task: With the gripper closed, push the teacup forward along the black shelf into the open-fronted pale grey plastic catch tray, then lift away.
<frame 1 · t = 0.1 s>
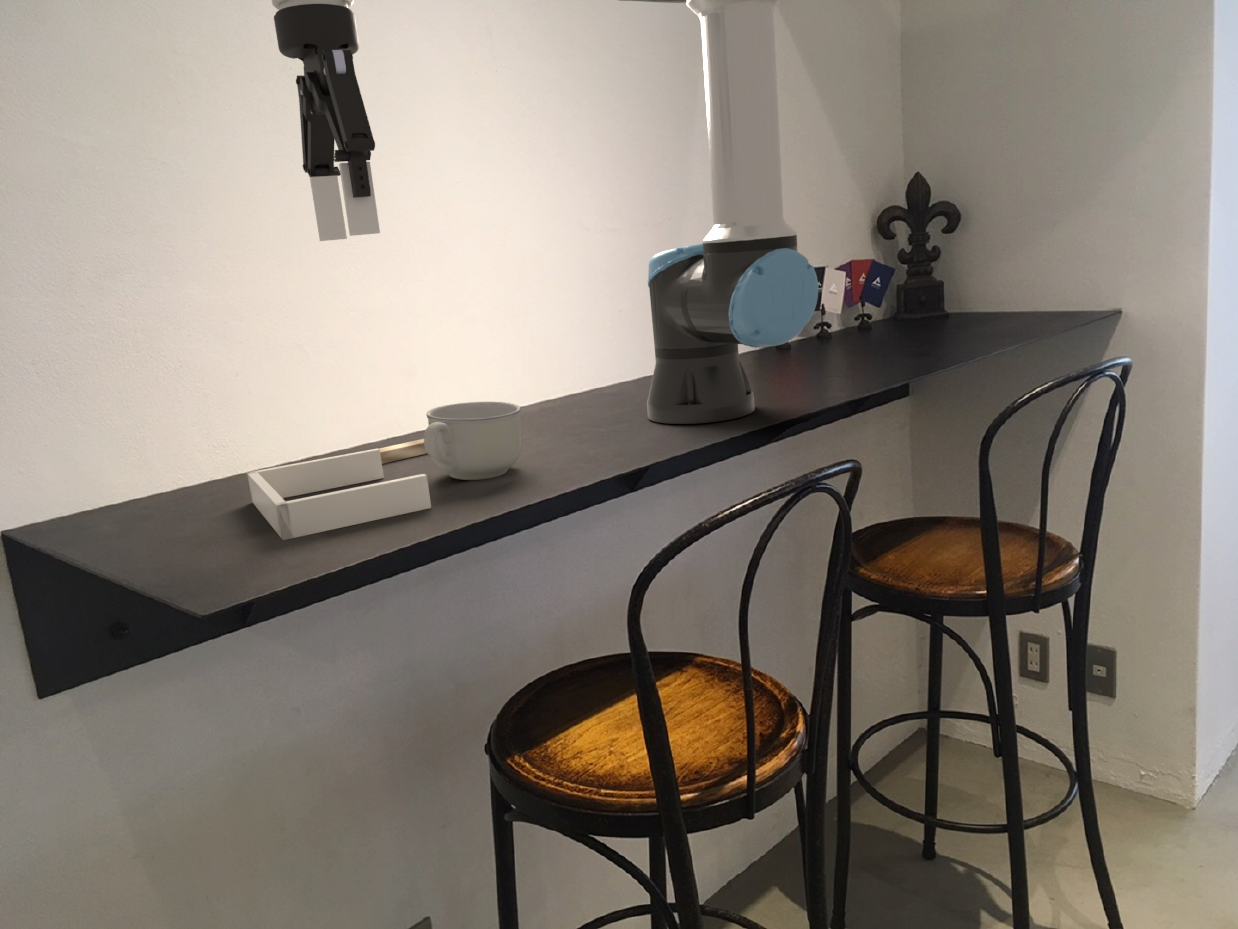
hand: (348, 237, 98), 28 cm above the table, fingers open, 13 cm apart
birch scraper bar: (379, 462, 125), on the table
teacup: (471, 479, 113), on the table
catch tray: (337, 504, 106), on the table
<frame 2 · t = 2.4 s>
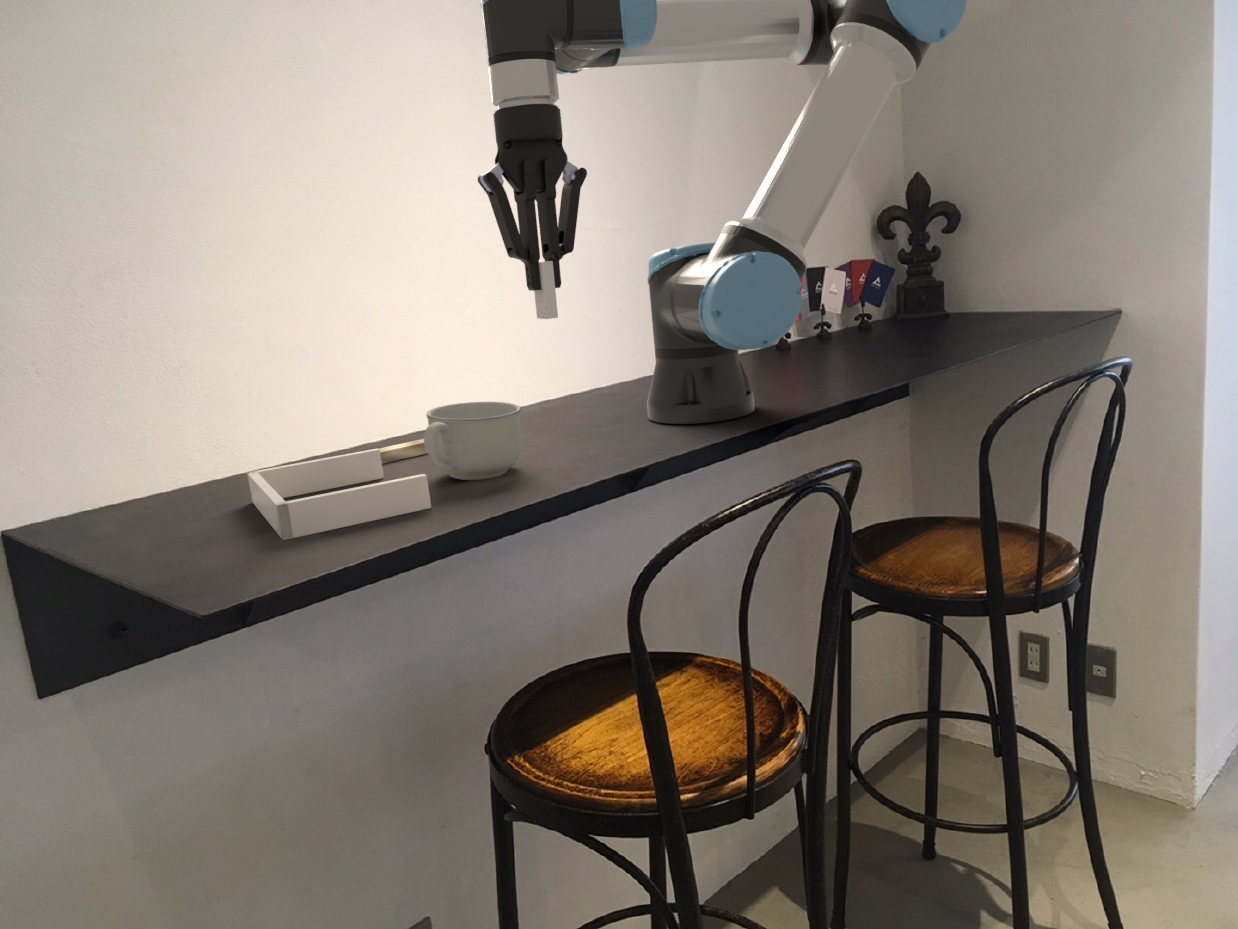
hand: (547, 317, 114), 17 cm above the table, fingers closed
nothing on the table moved.
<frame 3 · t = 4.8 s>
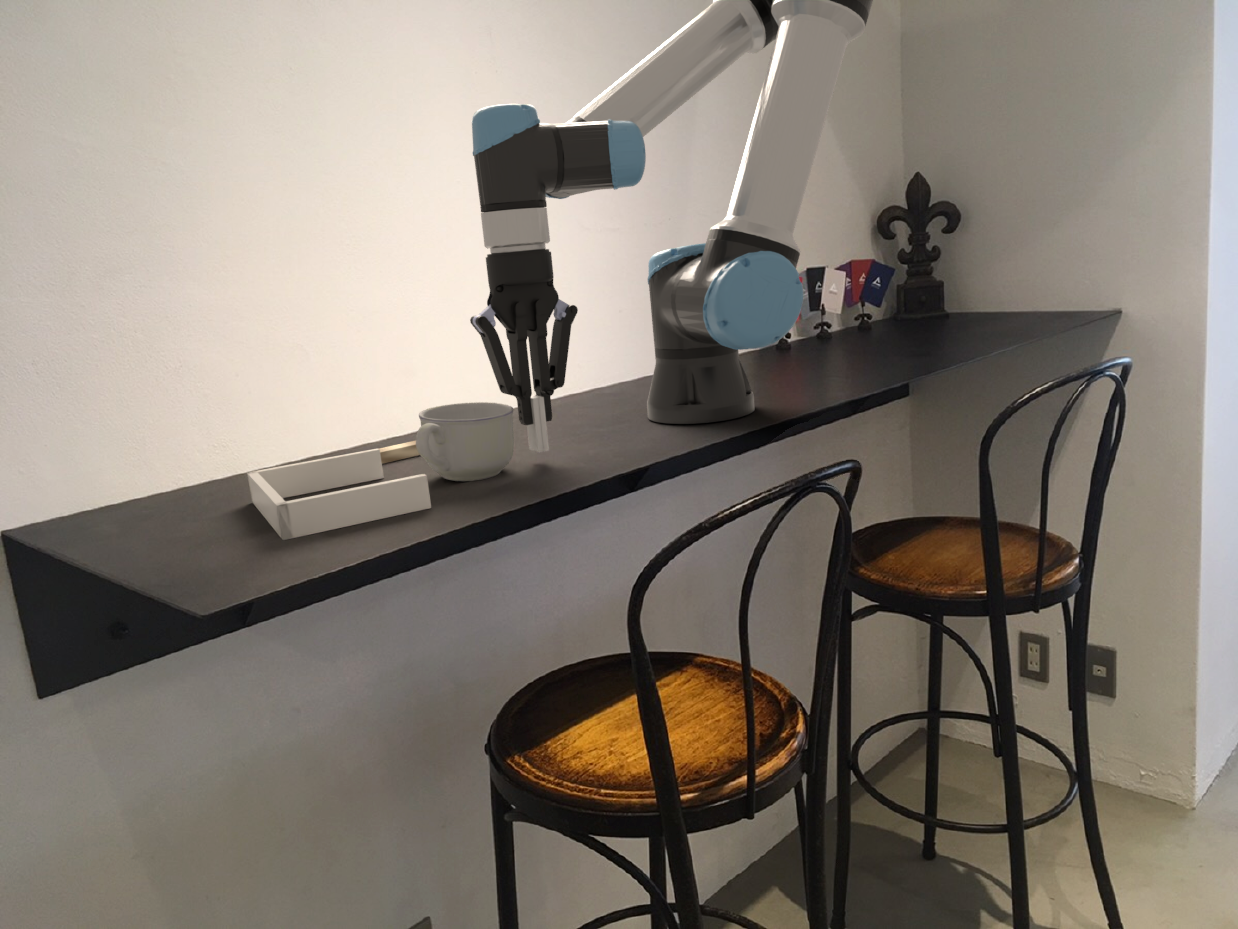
hand: (539, 449, 116), 2 cm above the table, fingers closed
teacup: (464, 480, 112), on the table, touching gripper
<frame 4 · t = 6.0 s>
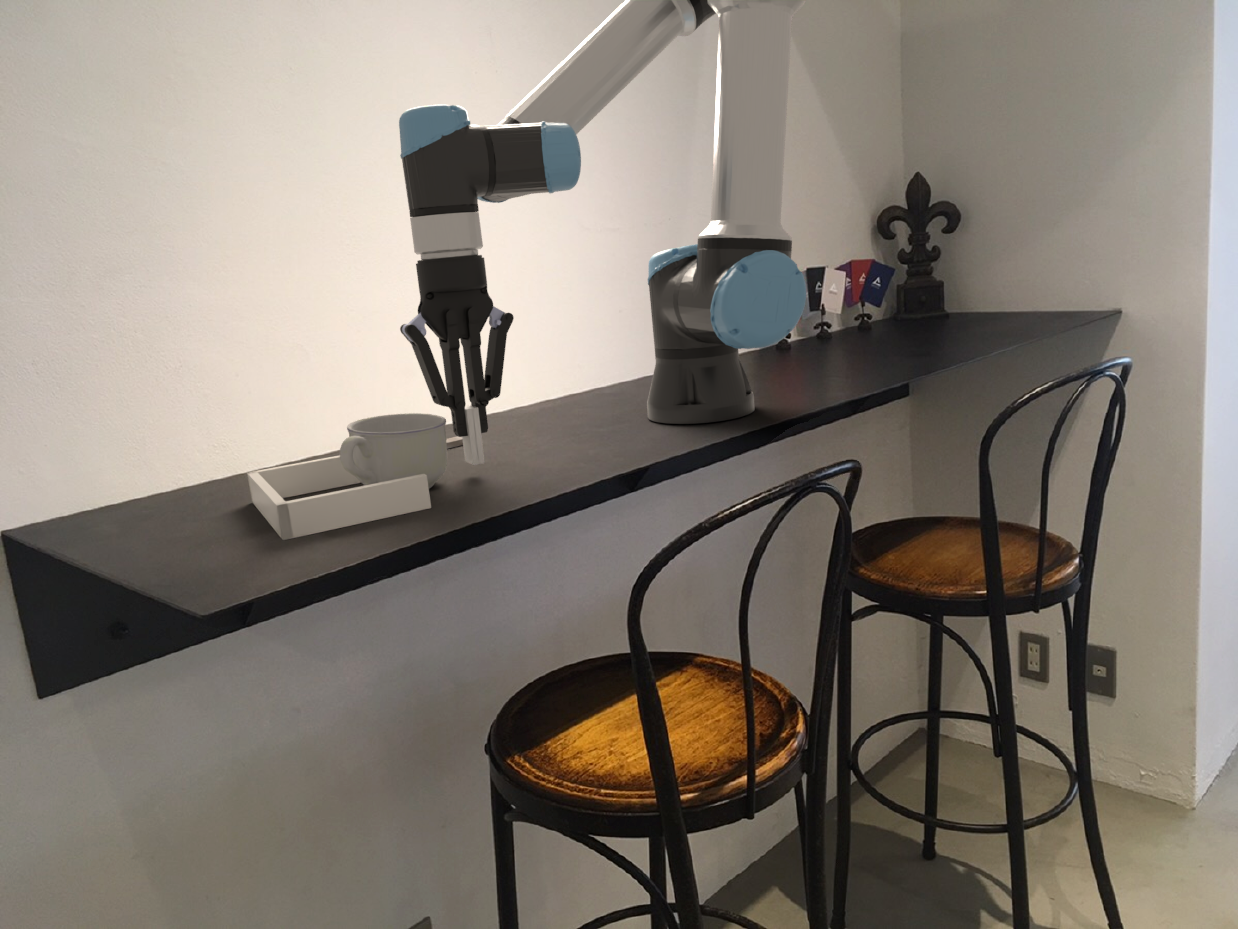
hand: (474, 462, 113), 2 cm above the table, fingers closed
teacup: (395, 494, 109), on the table, touching gripper
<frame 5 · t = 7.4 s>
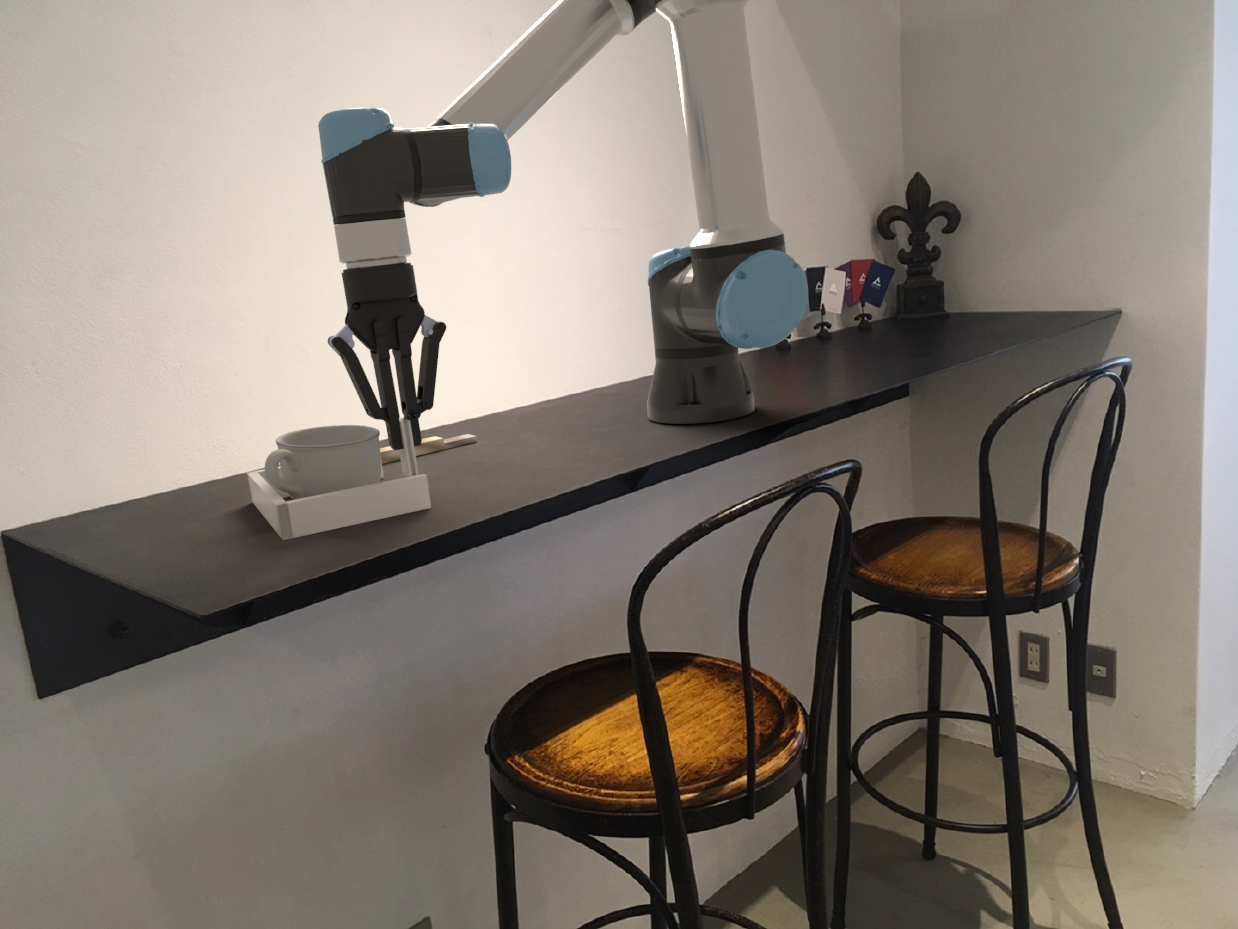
hand: (410, 475, 109), 2 cm above the table, fingers closed
teacup: (326, 509, 105), on the table, touching catch tray, gripper
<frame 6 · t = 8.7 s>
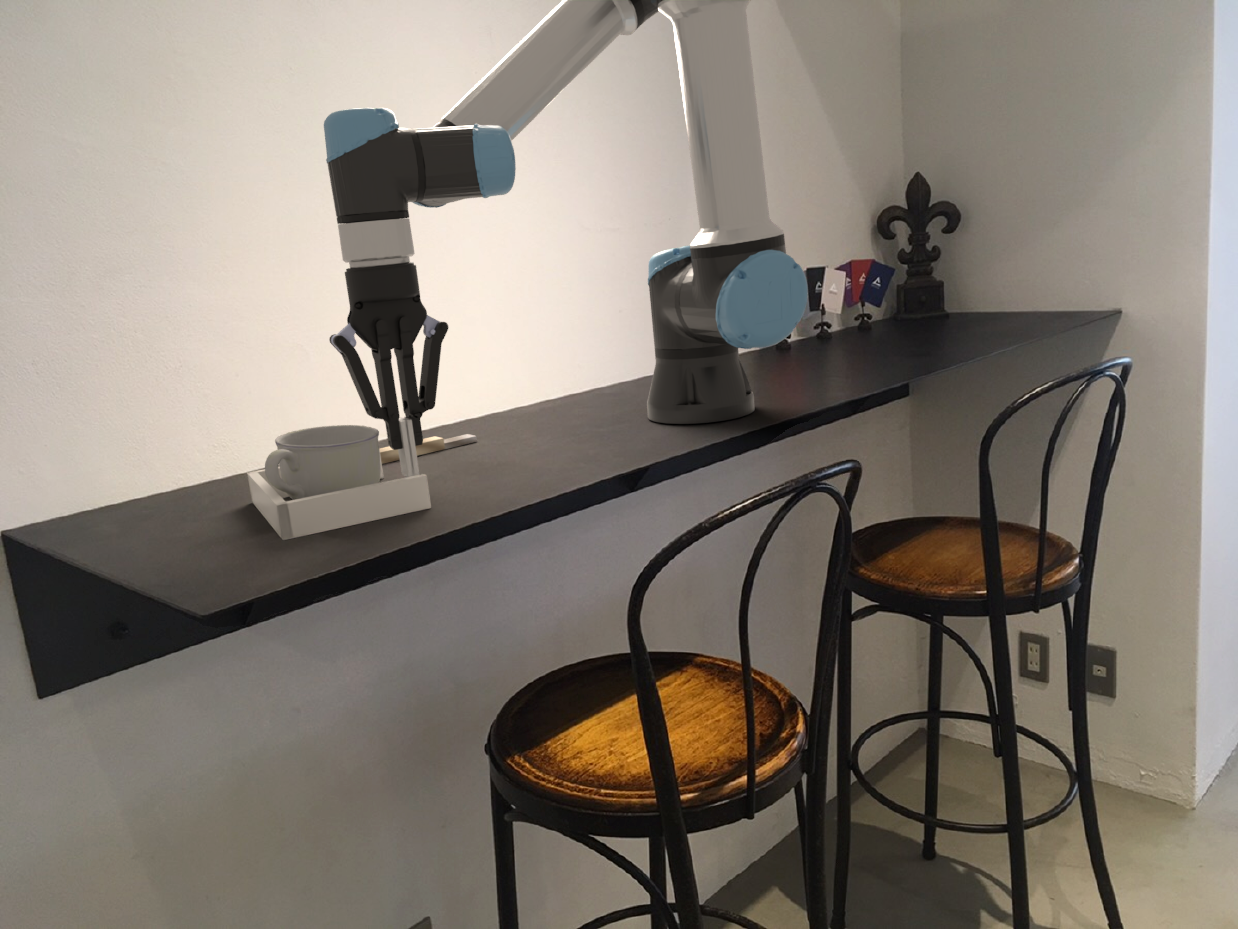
hand: (410, 475, 109), 2 cm above the table, fingers closed
nothing on the table moved.
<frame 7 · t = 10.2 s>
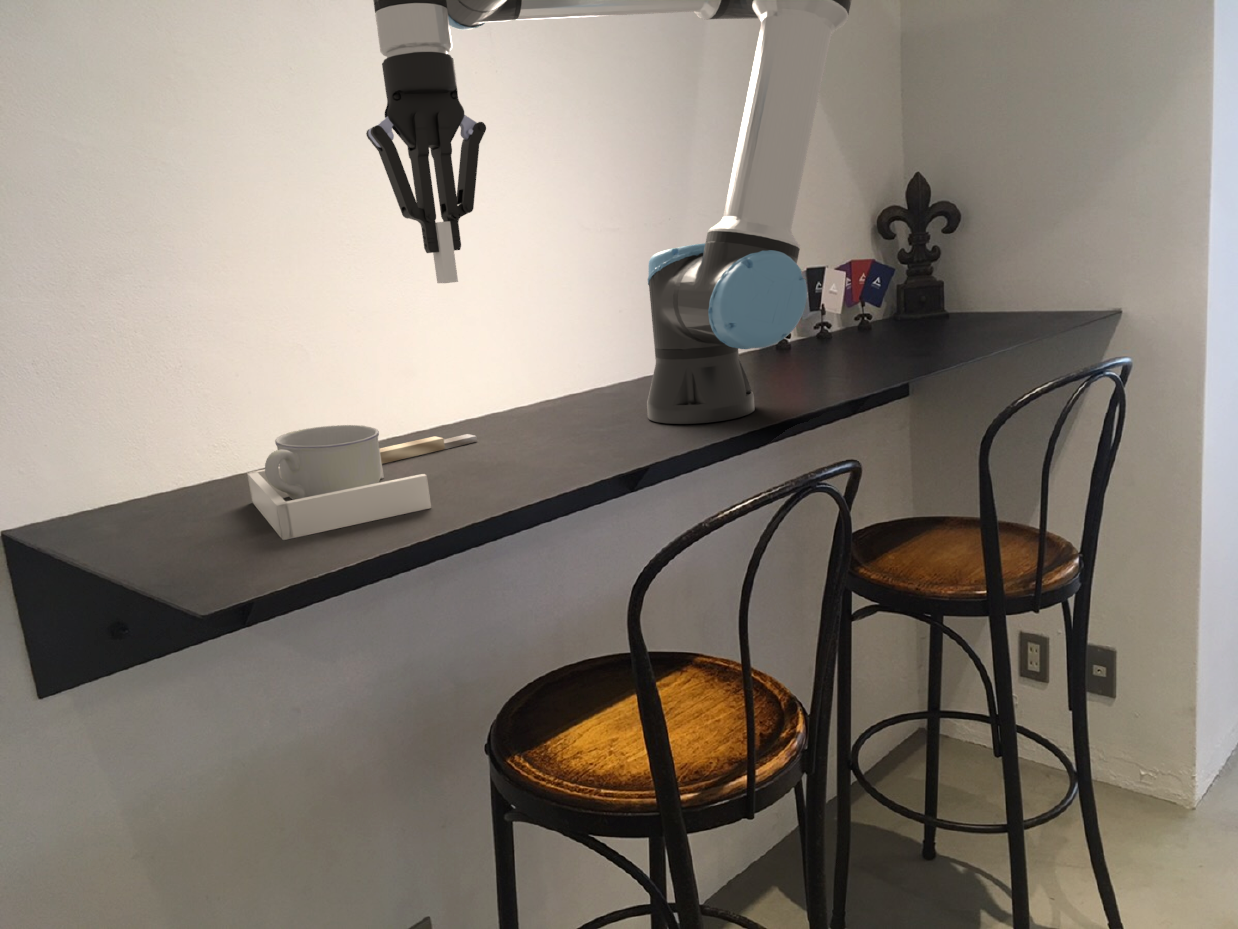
hand: (447, 282, 108), 22 cm above the table, fingers closed
teacup: (326, 509, 105), on the table
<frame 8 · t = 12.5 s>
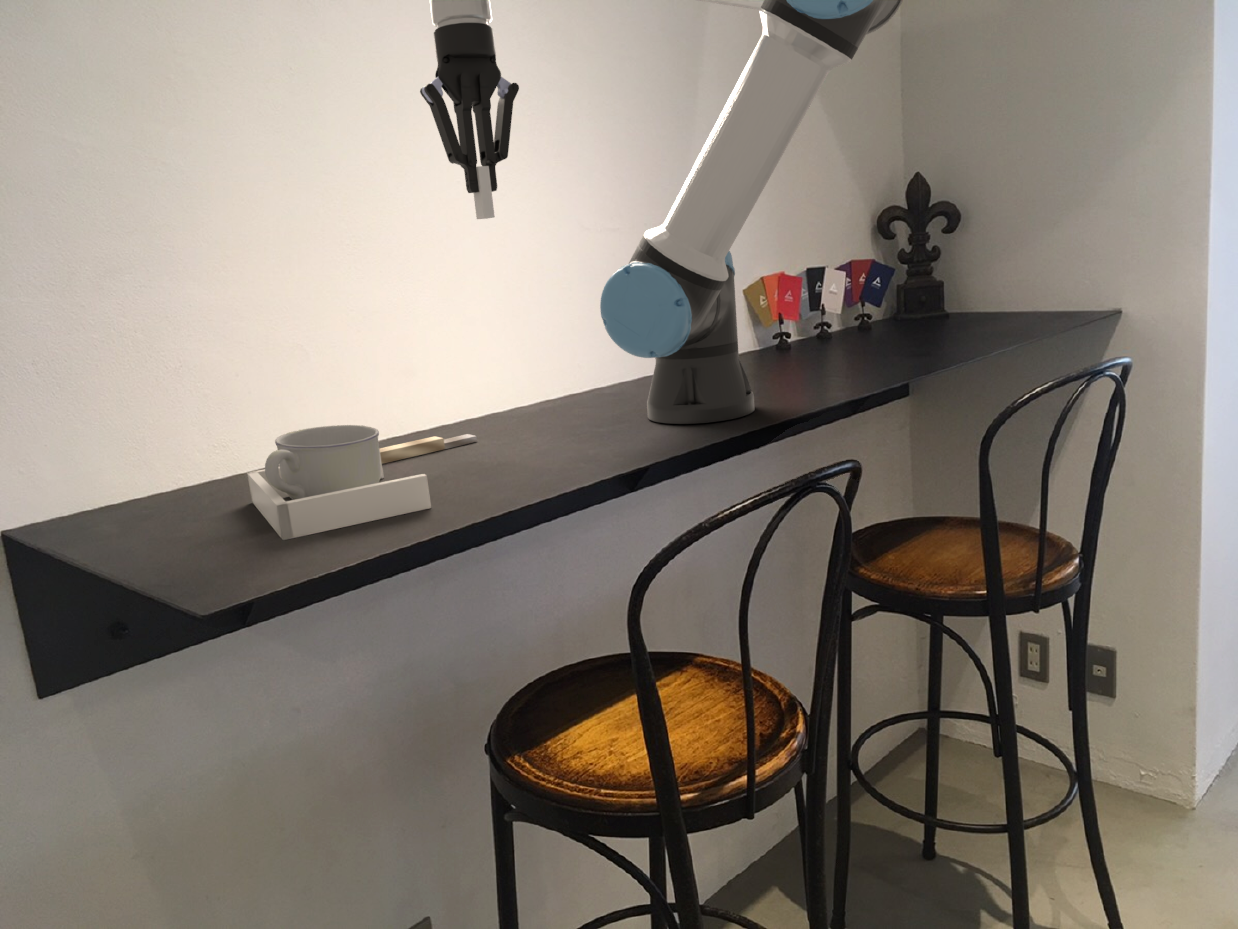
hand: (485, 218, 128), 29 cm above the table, fingers closed
nothing on the table moved.
at the end: teacup inside the target area (1.2 cm from its centre), on the table; teacup tilted 0° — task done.
